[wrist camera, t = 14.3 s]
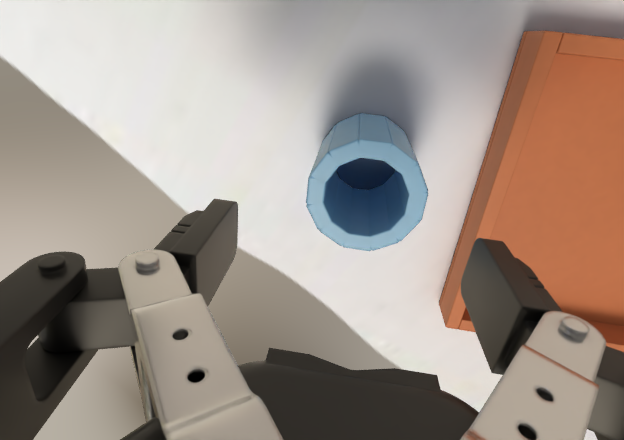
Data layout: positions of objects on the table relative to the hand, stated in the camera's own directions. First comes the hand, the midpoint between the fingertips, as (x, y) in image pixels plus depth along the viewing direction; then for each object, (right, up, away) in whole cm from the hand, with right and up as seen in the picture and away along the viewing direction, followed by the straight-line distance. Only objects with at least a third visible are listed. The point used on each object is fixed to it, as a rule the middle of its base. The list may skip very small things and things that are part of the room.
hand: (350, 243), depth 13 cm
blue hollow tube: (+2, +4, +9) cm, 10 cm away
